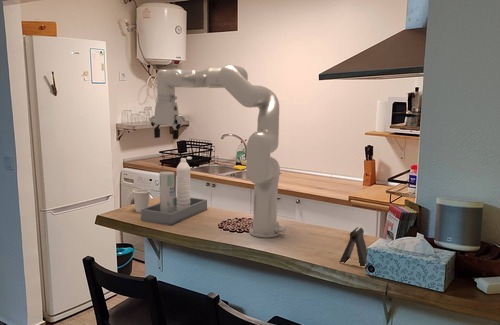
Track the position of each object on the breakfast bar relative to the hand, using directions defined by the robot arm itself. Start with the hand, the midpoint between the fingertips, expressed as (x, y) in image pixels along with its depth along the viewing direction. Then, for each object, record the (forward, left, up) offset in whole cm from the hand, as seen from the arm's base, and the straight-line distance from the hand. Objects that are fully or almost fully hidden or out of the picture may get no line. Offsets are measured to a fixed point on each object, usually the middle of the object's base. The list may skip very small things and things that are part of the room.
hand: (166, 138), depth 192 cm
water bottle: (-1, -14, -36) cm, 38 cm away
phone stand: (-87, +13, -36) cm, 95 cm away
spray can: (0, 0, -36) cm, 36 cm away
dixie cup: (+18, -5, -36) cm, 41 cm away
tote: (0, -7, -36) cm, 37 cm away
